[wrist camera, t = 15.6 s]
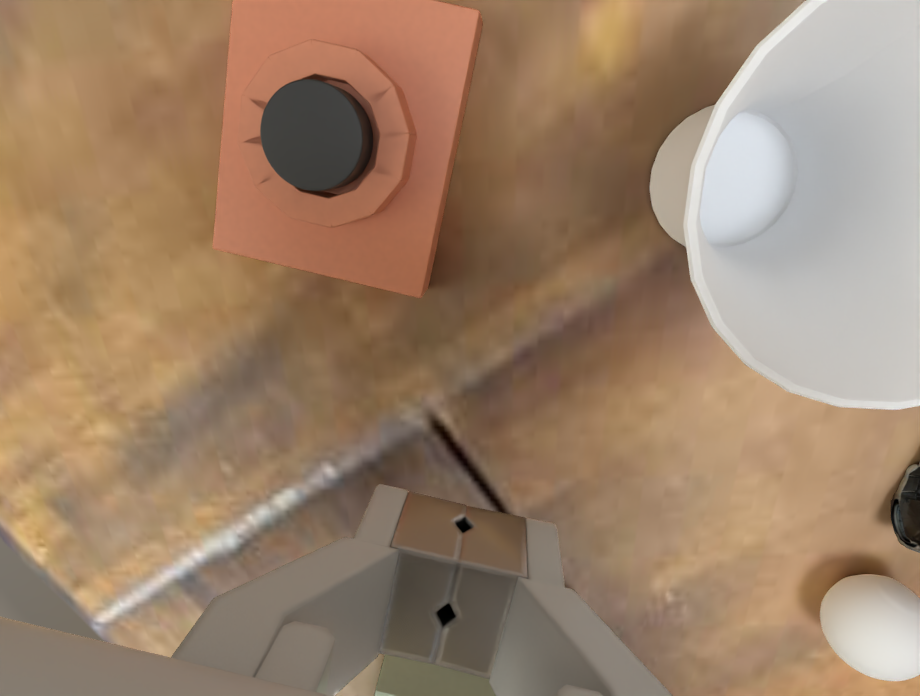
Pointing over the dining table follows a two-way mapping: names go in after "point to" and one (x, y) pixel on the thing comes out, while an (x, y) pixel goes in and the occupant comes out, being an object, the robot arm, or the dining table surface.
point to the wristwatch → (907, 509)
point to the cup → (810, 204)
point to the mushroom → (874, 626)
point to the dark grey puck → (316, 135)
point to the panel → (427, 680)
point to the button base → (393, 125)
